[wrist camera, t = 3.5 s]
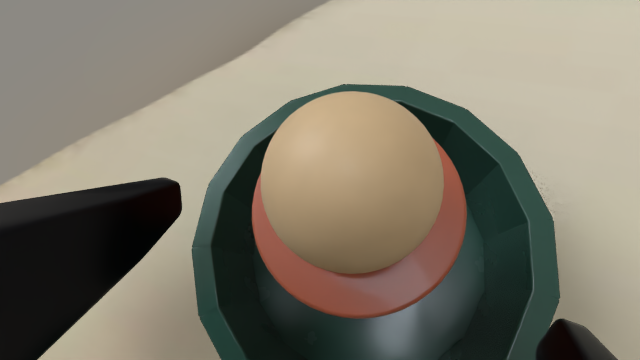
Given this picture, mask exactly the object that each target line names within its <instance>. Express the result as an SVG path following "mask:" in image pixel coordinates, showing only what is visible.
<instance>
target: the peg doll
mask: <svg viewBox="0 0 640 360" xmlns="http://www.w3.org/2000/svg"><path fill="white" fill-rule="evenodd" d="M466 219H467V210H466V199H465V194H464V189H463V185H462V183H461V180H460V177H459V174H458V172H457V170H456V168H455V166H454V165H453V163H452V161H451V159H450V158H449V157H448V155H447V154H446V152H445V151H444V150H443V148H442V147H441V146H440V145H439V144H438V143H437V142H436V141H435V140H434V139H433V138H432V137H431V135H430V133H429V132H428V131H427V129H426V128H425V126H424V125H423V124H422V123H421V122H420V121H419V120H418V119H417V118H416V117H415V116H414V115H413V114H412V113H411V112H409V111H408V110H407V109H406V108H404V107H403V106H401V105H400V104H398V103H396V102H394V101H392V100H390V99H388V98H385V97H382V96H380V95H376V94H372V93H367V92H356V91H349V92H338V93H332V94H328V95H325V96H322V97H319V98H317V99H314V100H312V101H310V102H308V103H307V104H305V105H303V106H302V107H300V108H299V109H297V110H296V111H295V112H294V113H292V114H291V115H290V116H289V117H288V118H287V119H286V120H285V121H284V122H283V123H282V124H281V126H280V127H279V128H278V130H277V131H276V132H275V134H274V136H273V138H272V139H271V141H270V143H269V146H268V148H267V150H266V153H265V156H264V160H263V163H262V170H261V173H260V176H259V178H258V180H257V184H256V188H255V191H254V196H253V203H252V225H253V233H254V237H255V241H256V245H257V248H258V250H259V253H260V255H261V258H262V260H263V261H264V263H265V265H266V267H267V269H268V270H269V272H270V273H271V274H272V276H273V277H274V278H275V280H276V281H277V282H278V283H279V284H280V285H281V286H282V287H283V288H284V289H285V290H286V291H287V292H288V293H289V294H291V295H292V296H293V297H295V298H296V299H297V300H299V301H300V302H302V303H304V304H306V305H307V306H309V307H311V308H313V309H316V310H318V311H321V312H323V313H326V314H330V315H334V316H338V317H344V318H355V319H360V318H375V317H380V316H385V315H389V314H392V313H395V312H398V311H401V310H403V309H405V308H407V307H409V306H411V305H413V304H415V303H417V302H418V301H420V300H421V299H422V298H424V297H425V296H427V295H428V294H429V293H430V292H432V291H433V290H434V289H435V288H436V287H437V286H438V285H439V284H440V283H441V282H442V280H443V279H444V278H445V276H446V275H447V274H448V272H449V271H450V270H451V268H452V266H453V264H454V262H455V261H456V259H457V257H458V254H459V252H460V249H461V246H462V244H463V239H464V235H465V230H466Z"/></svg>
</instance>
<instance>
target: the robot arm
mask: <svg viewBox="0 0 640 360" xmlns="http://www.w3.org/2000/svg"><path fill="white" fill-rule="evenodd" d="M181 211H182V201H181V189H180V185H179V183H178V182H176V181H174V180H171V179H168V178H156V179H150V180H144V181H137V182H131V183H125V184H118V185H112V186H106V187H100V188H93V189H87V190H81V191H74V192H68V193H62V194H55V195H49V196H43V197H36V198H30V199H24V200H17V201H11V202H5V203H0V360H37V359H38V358H39V357H40V356H42V355H43V354H44V353H45V352H46V351H47V350H48V349H49V348H50V347H51V346H52V345H53V344H54V343H55V342H56V341H57V340H58V339H59V338H60V337H61V336H62V335H63V334H64V333H66V332H67V331H68V330H69V329H70V328H71V327H72V326H73V325H74V324H75V323H76V322H77V321H78V320H79V319H80V318H81V317H82V316H83V315H84V314H85V313H86V312H87V311H88V310H90V309H91V308H92V307H93V306H94V305H95V304H96V303H97V302H98V301H99V300H100V299H101V298H102V297H103V296H104V295H105V294H106V293H107V292H108V291H109V290H110V289H111V288H112V287H114V286H115V285H116V284H117V283H118V282H119V281H120V280H121V279H122V278H123V277H124V276H125V275H126V274H127V273H128V272H129V271H130V270H131V269H132V268H133V267H134V266H135V265H136V264H137V263H138V262H139V261H140V260H141V259H142V258H143V257H144V256H145V255H146V254H147V253H148V252H149V250H150V249H151V248H152V247H153V246H154V245H155V244H156V242H157V241H158V240H159V239H160V238H161V237H162V235H163V234H164V233H165V232H166V231H167V230H168V229H169V227H170V226H171V225H172V224H173V223H174V222H175V220H176V219H177V218H178V217H179V215H180V214H181ZM535 360H618V359H617V358H616V357H615V356H614V355H613V354H612V353H611V352H610V351H609V350H608V349H607V348H606V347H605V346H604V345H603V344H602V343H601V342H600V341H599V340H598V339H597V338H596V337H595V336H594V335H593V334H592V333H591V332H590V331H589V330H588V329H587V328H586V327H584V326H582V325H580V324H577V323H574V322H571V321H568V320H565V319H558V320H556V321H555V322H554V323H553V324H552V326H551V327H550V328H549V330H548V331H547V332H546V333H545V335H544V336H543V337H542V339H541V340H540V341H539V343H538V345H537V347H536V352H535Z"/></svg>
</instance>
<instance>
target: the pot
mask: <svg viewBox="0 0 640 360" xmlns="http://www.w3.org/2000/svg"><path fill="white" fill-rule="evenodd" d="M349 91H356V92H367V93H372V94H376V95H380V96H382V97H385V98H388V99H390V100H392V101H394V102H396V103H398V104H400V105H401V106H403V107H404V108H406V109H407V110H408V111H409V112H411V113H412V114H413V115H414V116H415V117H416V118H417V119H418V120H419V121H420V122H421V123H422V124H423V125H424V126H425V128H426V129H427V131H428V132H429V133H430V135H431V137H432V138H433V139H434V140H435V141H436V142H437V143H438V144H439V145H440V146H441V147H442V148H443V150H444V151H445V152H446V154H447V155H448V157H449V158H450V159H451V161H452V163H453V165H454V166H455V168H456V170H457V172H458V174H459V177H460V180H461V183H462V185H463V189H464V194H465V199H466V210H467V219H466V230H465V235H464V239H463V244H462V246H461V249H460V252H459V254H458V257H457V259H456V261H455V262H454V264H453V266H452V268H451V270H450V271H449V272H448V274H447V275H446V276H445V278H444V279H443V280H442V282H441V283H440V284H439V285H438V286H437V287H436V288H435V289H434V290H433V291H432V292H430V293H429V294H428V295H427V296H425V297H424V298H422V299H421V300H420V301H418V302H417V303H415V304H413V305H411V306H409V307H407V308H405V309H403V310H401V311H398V312H395V313H392V314H389V315H385V316H380V317H375V318H360V319H355V318H344V317H338V316H334V315H330V314H326V313H323V312H321V311H318V310H316V309H313V308H311V307H309V306H307V305H306V304H304V303H302V302H300V301H299V300H297V299H296V298H295V297H293V296H292V295H291V294H289V293H288V292H287V291H286V290H285V289H284V288H283V287H282V286H281V285H280V284H279V283H278V282H277V281H276V280H275V278H274V277H273V276H272V274H271V273H270V272H269V270H268V269H267V267H266V265H265V263H264V261H263V260H262V258H261V255H260V253H259V250H258V248H257V245H256V241H255V237H254V233H253V225H252V203H253V196H254V191H255V188H256V184H257V180H258V178H259V176H260V173H261V170H262V163H263V160H264V156H265V153H266V150H267V148H268V146H269V143H270V141H271V139H272V138H273V136H274V134H275V132H276V131H277V130H278V128H279V127H280V126H281V124H282V123H283V122H284V121H285V120H286V119H287V118H288V117H289V116H290V115H291V114H292V113H294V112H295V111H296V110H297V109H299V108H300V107H302V106H303V105H305V104H307V103H308V102H310V101H312V100H314V99H317V98H319V97H322V96H325V95H328V94H332V93H338V92H349ZM208 186H209V187H208V188H207V191H206V195H205V199H204V203H203V207H202V211H201V214H200V218H199V222H198V226H197V230H196V233H195V237H194V241H193V245H192V247H193V248H192V258H193V268H194V277H195V287H196V296H197V306H198V315H199V317H200V320H201V322H202V324H203V326H204V328H205V329H206V331H207V333H208V335H209V337H210V339H211V341H212V343H213V345H214V347H215V349H216V350H217V352H218V354H219V356H220V358H221V360H535V352H536V347H537V345H538V343H539V341H540V340H541V339H542V337H543V336H544V335H545V333H546V332H547V331H548V330H549V327H550V324H551V322H552V319H553V316H554V314H555V311H556V308H557V306H558V303H559V299H560V291H559V279H558V267H557V255H556V243H555V232H554V221H553V218H552V216H551V214H550V212H549V210H548V208H547V206H546V205H545V203H544V201H543V199H542V197H541V195H540V193H539V191H538V189H537V188H536V186H535V184H534V182H533V180H532V178H531V176H530V174H529V173H528V171H527V169H526V167H525V165H524V163H523V161H522V159H521V157H520V156H519V155H518V153H517V152H516V151H515V150H514V149H512V148H511V147H510V146H509V145H508V144H507V143H506V142H504V141H503V140H502V139H501V138H500V137H499V136H497V135H496V134H495V133H494V132H493V131H492V130H490V129H489V128H488V127H487V126H486V125H485V124H484V123H482V122H481V121H480V120H479V119H478V118H477V117H475V116H474V115H473V114H472V113H471V112H470V111H468V110H467V109H466V110H465V108H463V107H460V106H457V105H455V104H452V103H450V102H447V101H444V100H442V99H439V98H437V97H434V96H431V95H429V94H426V93H423V92H421V91H418V90H416V89H413V88H410V87H405V86H388V85H355V84H347V85H346V84H343V85H340V86H337V87H333V88H330V89H327V90H324V91H321V92H317V93H314V94H311V95H308V96H304V97H301V98H298V99H295V100H291V101H290V102H288V103H287V104H285V105H284V106H282V107H281V108H280V109H278V110H277V111H276V112H274V113H273V114H271V115H270V116H269V117H267V118H266V119H265V120H263V121H262V122H261V123H259V124H258V125H256V126H255V127H254V128H252V129H251V130H250V131H248V132H247V133H246V134H244V135H243V137H241V138H240V139H239V141H238V142H237V144H236V145H235V147H234V148H233V150H232V151H231V153H230V154H229V155H228V157H227V158H226V160H225V161H224V163H223V164H222V166H221V167H220V169H219V170H218V172H217V173H216V174H215V176H214V177H213V179H212V180H211V182H210V183H209V185H208Z"/></svg>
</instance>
